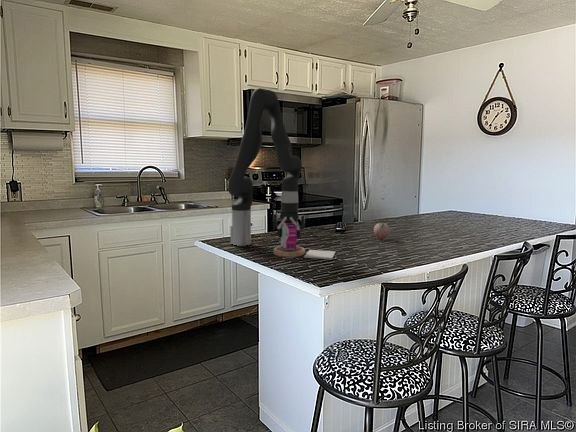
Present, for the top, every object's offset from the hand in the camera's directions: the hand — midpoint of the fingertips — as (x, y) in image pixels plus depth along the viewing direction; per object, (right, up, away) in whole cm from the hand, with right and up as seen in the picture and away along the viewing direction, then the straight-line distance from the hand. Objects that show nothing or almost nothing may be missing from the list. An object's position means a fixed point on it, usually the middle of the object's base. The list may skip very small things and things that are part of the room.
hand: (288, 237), depth 183 cm
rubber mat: (+14, -8, -2) cm, 16 cm away
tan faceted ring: (0, -7, +1) cm, 7 cm away
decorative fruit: (+49, -3, +35) cm, 60 cm away
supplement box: (0, -5, +1) cm, 5 cm away
